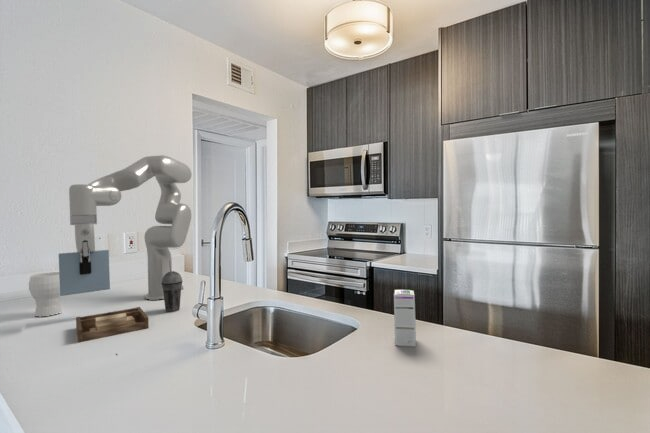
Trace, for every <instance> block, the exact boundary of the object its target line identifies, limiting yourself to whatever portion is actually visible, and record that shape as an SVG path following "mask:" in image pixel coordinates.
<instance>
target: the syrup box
mask: <svg viewBox="0 0 650 433" xmlns="http://www.w3.org/2000/svg"><path fill="white" fill-rule="evenodd" d="M415 296H416V295H415V290H412V289H394V292H393V308H394V309H393V312H394V313H393V314H394V315H393V316H394V345H395V346H399V347H413V348H414V347H415V348H416V346H417V337H416V336H417V334H416V333H417V332H416V322H417V321H416V302H415V301H416V299H415Z"/></svg>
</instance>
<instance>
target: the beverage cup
mask: <svg viewBox="0 0 650 433" xmlns="http://www.w3.org/2000/svg"><path fill="white" fill-rule="evenodd" d="M169 264H170V272H168V273H166V274H165V275H164V277H163V279H162V283H161V284H162V288H163V293H164V299H163V300H164V307H165V308H164V309H165V312H166V313H176V312H179V311H180V309H181V296H182V295H181V293H182V290H181V287H182V286H183V278H182V275H181V274H180V273H179V272H178V271H173V269H172V270H171V260H169Z"/></svg>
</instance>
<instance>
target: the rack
mask: <svg viewBox="0 0 650 433" xmlns="http://www.w3.org/2000/svg"><path fill="white" fill-rule="evenodd" d="M122 313H126V315H127V317H128V316H132V317H133V318H134V319H135V322H136V323H134V324H129V325H124V326H119V327H113V328H108V329H103V330H98V331H93V332H90V331H89V328H95V323H96V317H103V316H109V315H115V314H122ZM75 322H76V325H75V326H76V328H75V329H76V335H77V343H83V342H88V341H89V342H90V341H92V340H98V339H102V338H108V337H112V336H118V335H123V334H127V333H132V332H137V331H143V330H146V329H147V330H148V329H149V328H150V327H149V316H148V315H147V314H146V312H144V310H143V309H142V308H141V307H140V306H136V307H132V308H126V309H122V310H114V311H107V312H104V313H97V314H90V315H85V316H77V317H75Z"/></svg>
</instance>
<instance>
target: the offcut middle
mask: <svg viewBox="0 0 650 433" xmlns="http://www.w3.org/2000/svg"><path fill="white" fill-rule="evenodd" d="M134 323H135V319H134V318H133V317H132V316H128V317H127V321H123V322H117V323H111V324H105V325H99V326H96V323H95V329H96V330H97V331H98V330H103V329H108V328H113V327H119V326H124V325H129V324H134Z"/></svg>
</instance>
